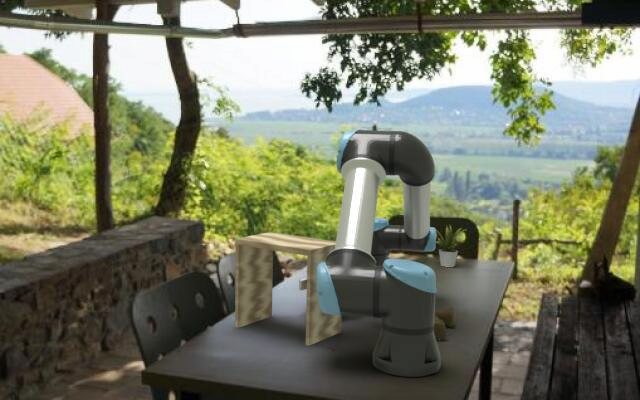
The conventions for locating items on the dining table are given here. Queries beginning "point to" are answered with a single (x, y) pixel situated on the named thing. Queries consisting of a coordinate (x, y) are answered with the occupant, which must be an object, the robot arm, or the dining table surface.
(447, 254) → the house plant
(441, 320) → the kendama
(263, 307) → the plywood stool
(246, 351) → the dining table surface
